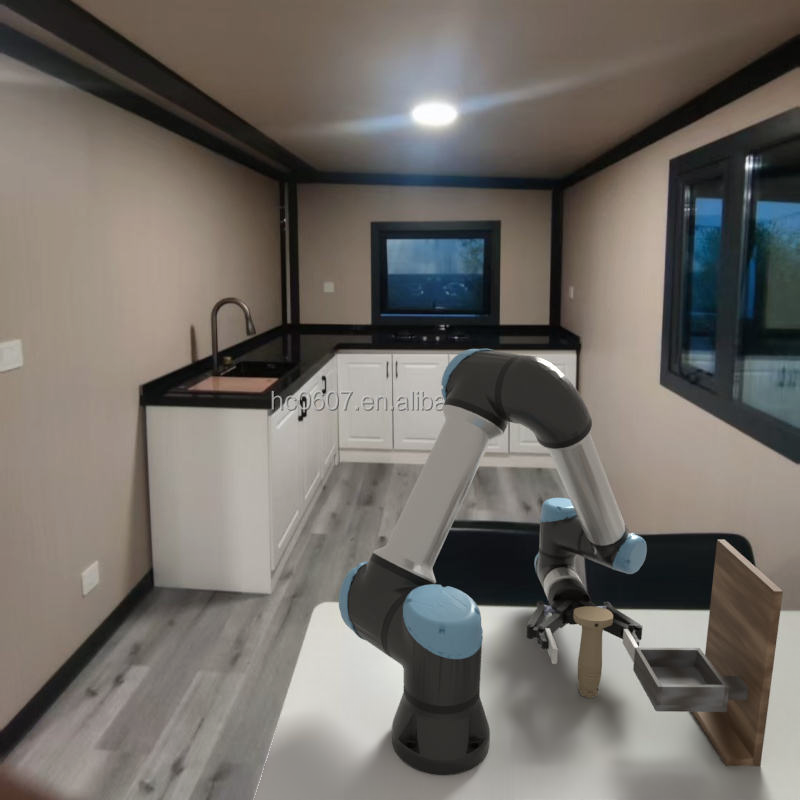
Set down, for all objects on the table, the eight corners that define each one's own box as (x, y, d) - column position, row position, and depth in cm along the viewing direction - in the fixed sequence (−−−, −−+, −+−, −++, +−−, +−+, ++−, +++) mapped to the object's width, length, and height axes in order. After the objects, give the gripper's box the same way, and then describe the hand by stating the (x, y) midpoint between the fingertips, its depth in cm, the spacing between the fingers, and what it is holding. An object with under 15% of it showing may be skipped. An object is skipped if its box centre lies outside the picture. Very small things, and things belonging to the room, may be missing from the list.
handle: (610, 702, 116) (616, 621, 113) (572, 701, 117) (577, 620, 114) (603, 685, 121) (608, 606, 118) (566, 684, 121) (571, 606, 118)
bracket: (651, 765, 102) (666, 590, 96) (614, 690, 120) (626, 538, 114) (760, 766, 102) (783, 591, 96) (708, 690, 120) (724, 539, 114)
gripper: (629, 613, 135) (670, 677, 115) (502, 612, 135) (519, 676, 115) (632, 577, 134) (674, 636, 113) (503, 576, 134) (521, 635, 113)
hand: (596, 657), depth 114 cm, fingers open, 13 cm apart
